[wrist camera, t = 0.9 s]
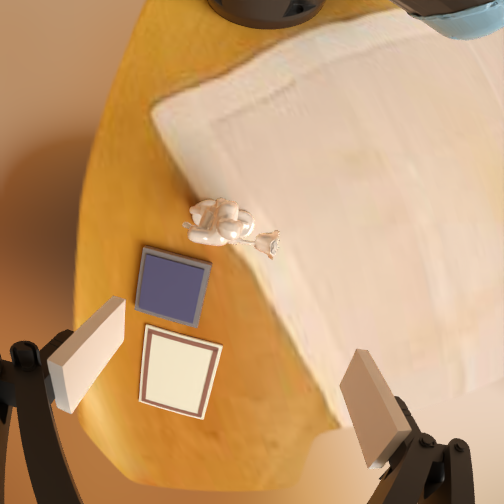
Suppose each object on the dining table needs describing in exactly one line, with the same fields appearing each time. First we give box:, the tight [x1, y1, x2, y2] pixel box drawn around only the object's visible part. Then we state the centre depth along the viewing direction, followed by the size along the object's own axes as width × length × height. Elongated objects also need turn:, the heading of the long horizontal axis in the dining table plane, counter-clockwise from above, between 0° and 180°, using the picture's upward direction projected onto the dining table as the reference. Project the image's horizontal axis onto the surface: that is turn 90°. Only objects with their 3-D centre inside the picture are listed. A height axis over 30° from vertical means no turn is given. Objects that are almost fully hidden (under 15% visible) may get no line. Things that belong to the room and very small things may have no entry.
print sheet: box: [139, 324, 223, 419], centre depth 37 cm, size 14×10×1 cm
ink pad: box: [135, 245, 212, 328], centre depth 34 cm, size 8×8×1 cm
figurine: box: [182, 198, 280, 260], centre depth 27 cm, size 5×9×12 cm, turn 84°
